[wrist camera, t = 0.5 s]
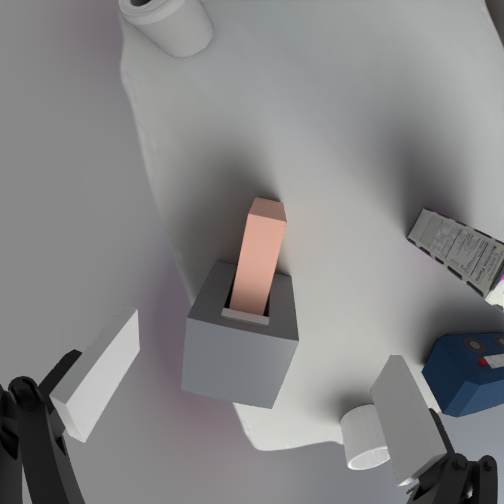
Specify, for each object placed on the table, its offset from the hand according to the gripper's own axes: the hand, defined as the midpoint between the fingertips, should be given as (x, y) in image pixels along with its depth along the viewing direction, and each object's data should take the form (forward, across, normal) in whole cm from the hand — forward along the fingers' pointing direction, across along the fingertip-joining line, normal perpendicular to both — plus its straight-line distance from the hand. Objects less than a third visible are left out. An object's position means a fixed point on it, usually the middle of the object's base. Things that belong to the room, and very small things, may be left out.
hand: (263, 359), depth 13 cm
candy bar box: (+20, +22, +5) cm, 30 cm away
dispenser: (+20, -1, -8) cm, 22 cm away
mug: (+20, +26, -28) cm, 43 cm away
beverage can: (+20, -14, +22) cm, 33 cm away
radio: (+20, +39, -11) cm, 45 cm away
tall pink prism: (+20, -1, -4) cm, 20 cm away
